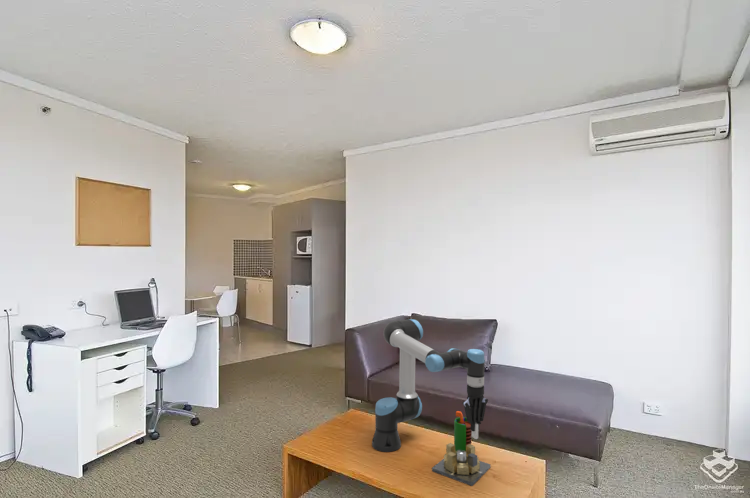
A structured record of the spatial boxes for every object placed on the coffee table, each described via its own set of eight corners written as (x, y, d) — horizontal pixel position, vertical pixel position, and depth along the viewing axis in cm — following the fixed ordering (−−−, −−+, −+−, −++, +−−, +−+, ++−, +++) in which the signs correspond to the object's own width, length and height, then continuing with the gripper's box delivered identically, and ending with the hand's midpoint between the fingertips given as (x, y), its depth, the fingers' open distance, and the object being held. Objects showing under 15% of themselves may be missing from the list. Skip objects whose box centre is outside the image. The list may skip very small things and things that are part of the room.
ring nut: (463, 478, 180) (463, 461, 180) (436, 463, 193) (436, 448, 193) (486, 466, 190) (486, 451, 190) (459, 453, 203) (459, 439, 203)
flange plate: (431, 471, 190) (431, 453, 190) (452, 454, 206) (452, 438, 206) (472, 486, 178) (472, 467, 178) (490, 467, 193) (490, 450, 193)
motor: (472, 457, 203) (472, 417, 203) (453, 456, 204) (453, 415, 205) (471, 448, 213) (471, 409, 213) (454, 446, 214) (454, 408, 215)
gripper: (469, 389, 177) (468, 444, 177) (492, 385, 183) (491, 438, 183) (458, 384, 184) (457, 437, 184) (481, 380, 190) (480, 431, 190)
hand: (474, 437), depth 184 cm, fingers closed
